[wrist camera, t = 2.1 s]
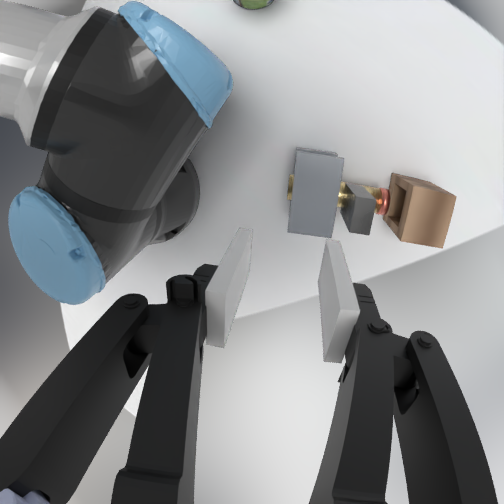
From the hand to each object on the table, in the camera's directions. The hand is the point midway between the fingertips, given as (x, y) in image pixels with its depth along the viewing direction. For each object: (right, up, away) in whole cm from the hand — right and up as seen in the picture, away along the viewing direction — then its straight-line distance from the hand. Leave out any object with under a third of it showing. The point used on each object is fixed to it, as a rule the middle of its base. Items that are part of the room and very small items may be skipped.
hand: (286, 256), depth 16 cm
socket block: (+19, +7, +19) cm, 28 cm away
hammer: (+8, +8, +18) cm, 21 cm away
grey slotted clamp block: (+6, +9, +20) cm, 23 cm away
